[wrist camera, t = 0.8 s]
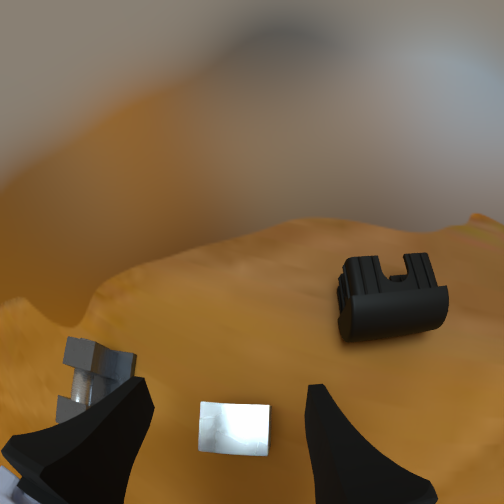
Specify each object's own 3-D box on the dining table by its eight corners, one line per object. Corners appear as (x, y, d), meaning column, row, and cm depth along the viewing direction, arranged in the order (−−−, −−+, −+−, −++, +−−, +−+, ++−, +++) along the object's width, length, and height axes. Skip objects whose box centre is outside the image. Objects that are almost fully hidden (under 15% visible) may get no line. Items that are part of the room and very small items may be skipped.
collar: (270, 445, 21) (267, 455, 15) (217, 442, 21) (198, 450, 16) (271, 406, 23) (269, 405, 17) (219, 404, 23) (200, 401, 18)
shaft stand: (127, 490, 18) (100, 498, 13) (71, 466, 18) (42, 468, 14) (136, 355, 26) (111, 341, 22) (83, 345, 27) (56, 331, 23)
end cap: (339, 351, 25) (355, 331, 19) (331, 287, 29) (343, 253, 23) (424, 338, 24) (456, 316, 19) (411, 280, 28) (435, 248, 22)
